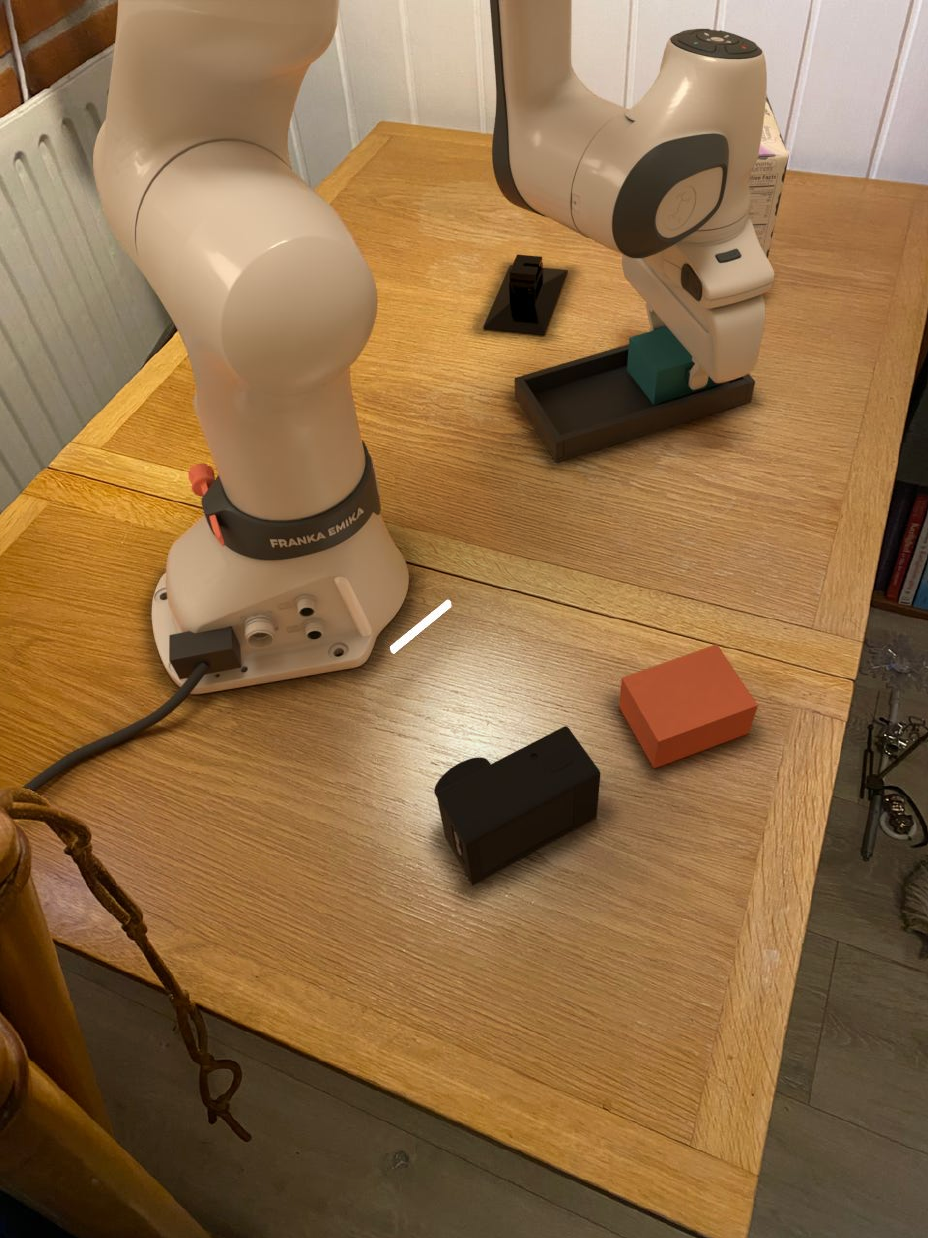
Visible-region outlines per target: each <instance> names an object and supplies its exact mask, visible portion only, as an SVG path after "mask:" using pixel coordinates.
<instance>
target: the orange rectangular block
mask: <svg viewBox="0 0 928 1238" xmlns="http://www.w3.org/2000/svg"><path fill="white" fill-rule="evenodd" d="M620 680H621V681H620V690H619V700H618V701H619V702H618V707H619V709H620V711H621V713H622V714H623V715H622V716H623V717H624V718H625V720H626V722H627V724H628V726H629V727H630V729H631V731H632V732H633V735H634V736H635V738H636V740H637V741H638V743H639V745H640V747H641V748H642V750H643V752H644V754H645V756H646V758H647V760H648V761H649V763H650V765H651V766H652V768H653V769H655V770H656V769H657V768H659V767H662V766H665V765H668V764H670V763H674V762H675V761H679V760H681V759H684V758H687V757H689V756H692V755H695V754H698V753H700V752H703V751H705V750H709V749H711V748H714V747H716V746H718V745H721V744H724V743H727V742H730V741H733V740H735V739H737V738H741V737H743V736H745V735H748V734H750V732H751V729H752V726H753V723H754V719H755V716H756V712H757V710H758V706H759V705H758V703H757V702H756V700H755V698H754V696H752V694H751V693H750V691H749V689H748V688H747V686H746V685H745V683H744V682H743V681H742V679H741V678H740V675H738V673H737V671H736V670H735V669H734V667H733V666H732V664H731V663H730V661H729V660H728V657H726V655H725V654H724V652H723V651H722V649H721V648H720V646H719V645H718V644H717V643H715V644H712V645H710V646H708V647H704V648H701V649H699V650H696V651H693V652H690V653H688V654H685V655H682V656H679V657H676V658H674V659H671V660H668V661H665V662H662V663H660V664H656V665H653V666H651V667H648V668H645V669H643V670H639V671H637V672H634V673H630V674H628V675H626V676H623V677H621V679H620Z"/></svg>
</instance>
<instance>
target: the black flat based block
mask: <svg viewBox="0 0 928 1238" xmlns="http://www.w3.org/2000/svg"><path fill="white" fill-rule="evenodd" d="M568 275H569V270H568V269H561V268H550V267H544V262H543V256H540V255H539V256H538V255H528V254H516V256H515V259H514V260H513V262H512V264H511V265H509V266H508V268H507V271H506V273H505V275H504V278H503V279H502V282H501V284H500V287H499V289H498V291H497V293H496V295H495V298H494V301H493V302H492V305H491V307H490V310H489V312H488V314H487V316H486V317H485V318H484V320H483V323H482V325H481V327H482V330H483V331H485V332H486V331H488V332H494V333H495V332H496V333H506V334H515V335H523V336H534V337H545V336H546V335H547V333H548V330H549V327H550V324H551V321H552V319H553V316H554V313H555V310H556V308H557V306H558V303H559V299H560V297H561V294H562V291H563V289H564V287H565V284H566V281H567V278H568Z"/></svg>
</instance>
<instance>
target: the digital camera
mask: <svg viewBox="0 0 928 1238" xmlns="http://www.w3.org/2000/svg"><path fill="white" fill-rule="evenodd" d="M600 784H601V771H600V769H599V768H598V766H597V765H596V764H595V762H594V761H593V760H592V758H591V757H590V755H589V754H588V753H587V751H586V750H585V748H584V747H583V746H582V744H581V742H580V741H579V740H578V738H577V737H576V736H575V734H574V733H573V732H572V730H571V728H570V727H569V726H567V725H564V726H562V727H560V728H558V729H556V730H554V731H553V732H551V733H549V734H547V735H545V736H543V737H541V738H539V739H537V740H535V741H533V742H531V743H529V744H527V745H525V746H524V747H522V748H520V749H518V750H516V751H514V752H512V753H510V754H508V755H505V756H504V757H502V758H500V759H498V760H497V761H494V762H493V763H491V762H490V761H489V759H487V758H485V757H481V756H480V757H478V756H477V757H472V758H469V759H465V760H463V761H460V762H459V763H457V764H456V765H454V766H452V767H451V768H450V769H448V770H447V771H446V772H445V773H443V775H442V776H441V777H439V779H438V781H437V782H436V783H435V786H434V790H433V791H434V795H435V797H436V800H437V805H438V809H439V810H438V811H439V815H440V819H441V824H442V829H443V835H444V838H445V841H446V842H447V844H448V846H449V848H450V849H451V850H452V852H453V854H454V857H456V860H457V861H458V863H459V865H460V866H461V868H462V869H463V872H464V874H465V875H466V876H467V878H468V880H469V882H470V884H471V885H472V886H475V885H476V884H478V883H480V882H482V881H483V880H485V879H486V878H489V877H490V876H492V875H494V874H496V873H498V872H499V871H502V870H504V869H505V868H507V867H509V866H510V865H512V864H514V863H516V862H518V861H520V860H522V859H523V858H525V857H527V856H528V855H530V854H531V855H532V854H533V853H534V852H537V851H538V850H540V849H541V848H543V847H546V846H547V845H549V844H551V843H553V842H555V841H556V840H558V839H560V838H561V837H563V836H565V835H567V834H569V833H571V832H573V831H575V830H576V829H578V828H580V827H582V826H584V825H585V824H587V823H589V822H591V821H592V820H595V819H596V818H598V808H599V807H598V806H599V795H600V787H601V786H600Z"/></svg>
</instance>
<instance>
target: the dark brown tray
mask: <svg viewBox="0 0 928 1238" xmlns="http://www.w3.org/2000/svg"><path fill="white" fill-rule="evenodd" d="M628 349H629V343H627V344H625V345H620V346H618V347H614V348H611V349H607V350H604V351H601V352H597V353H593V354H591V355H587V356H584V357H580V358H577V359H573V360H571V361H566V362H563V363H560V364H557V365H552V366H549V367H547V368H544V369H540V370H539V369H538V370H536V371H533V372H529V373H527V374H522V375H520V376H517V377H514V380H513V381H514V399H515V401H516V402H517V403H518V405H519V407H520V408H521V410H522V412H523V413H524V415H525V417H526V418H527V419H528V421H529V423H530V424H531V426H532V427H533V428H534V430H535V432H536V433H537V435H538V437H539V438H540V440H541V441H542V444H544V446H545V448H546V449H547V451H548V452H549V454H550V456H551V457H552V459H553V461H554V462H555V463H556V464H557V463H559V462H560V463H561V462H563V461H566V460H570V459H573V458H576V457H579V456H583V455H586V454H589V453H592V452H595V451H599V450H602V449H605V448H608V447H611V446H614V445H615V446H616V445H618V444H621V443H625V442H628V441H631V440H635V439H637V438H641V437H644V436H647V435H649V434H653V433H656V432H659V431H662V430H666V429H669V428H672V427H675V426H680V425H682V424H685V423H688V422H689V423H690V422H691V421H695V420H698V419H701V418H705V417H708V416H710V415H714V414H717V413H720V412H725V411H726V410H730V409H733V408H737V407H740V406H742V405H746V404H749V403H751V402H752V401H753V395H754V389H755V385H756V380H755V379H754V378H753V377H752V376H751V375H750V373H748V374H747V375H745V376H743V377H740V378H737V379H734V380H731V381H727V382H726V383H723V384H720V385H717V386H714V387H710V388H707V389H704V390H701V391H697V392H694V393H691V394H688V395H684V396H681V397H678V398H675V399H671V400H668V401H665V402H662V403H659V404H655V405H653V403H652V402H651V401H650V399H649V398H648V397H647V396H646V394H645V393H644V392H643V390H642V389H641V388H640V386H639V385H638V384H637V383H636V381H635V380H634V379H633V377H632V376H631V375H630V373H629V372H628V371H627V363H628Z"/></svg>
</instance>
